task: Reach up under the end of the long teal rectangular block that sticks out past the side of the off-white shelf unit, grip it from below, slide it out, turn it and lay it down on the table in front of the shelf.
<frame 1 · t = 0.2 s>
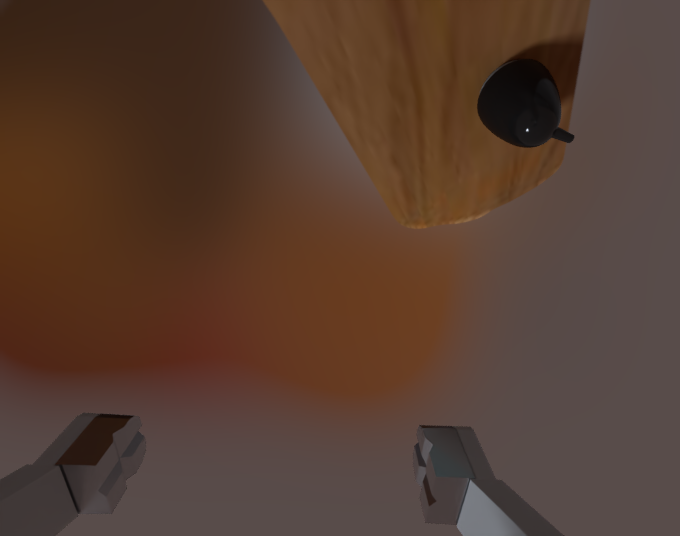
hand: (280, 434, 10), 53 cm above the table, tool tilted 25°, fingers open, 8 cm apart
black roly-poly toy: (505, 86, 53), on the table
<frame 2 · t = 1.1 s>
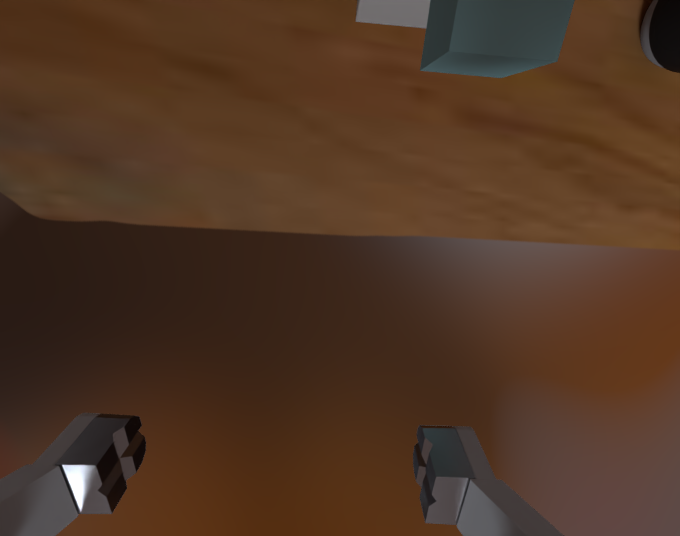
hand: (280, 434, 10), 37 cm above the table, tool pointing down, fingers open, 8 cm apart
black roly-poly toy: (668, 25, 38), on the table
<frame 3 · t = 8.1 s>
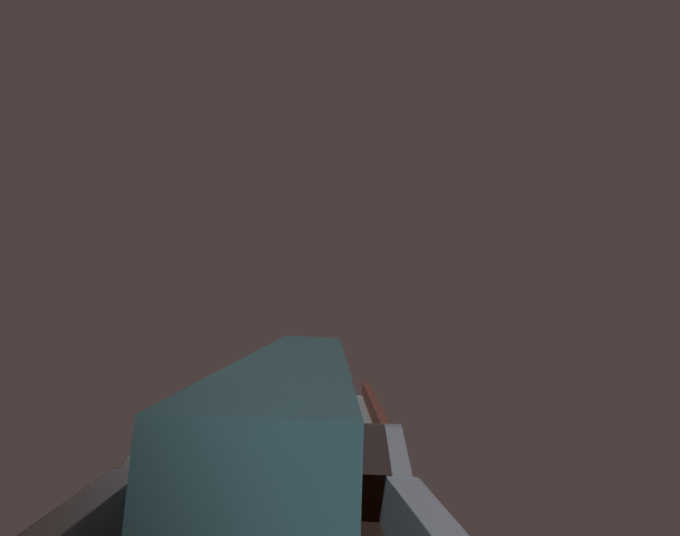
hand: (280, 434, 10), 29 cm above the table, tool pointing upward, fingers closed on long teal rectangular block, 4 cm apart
long teal rectangular block: (295, 457, 15), point 26 cm above the table, touching gripper, shelf unit
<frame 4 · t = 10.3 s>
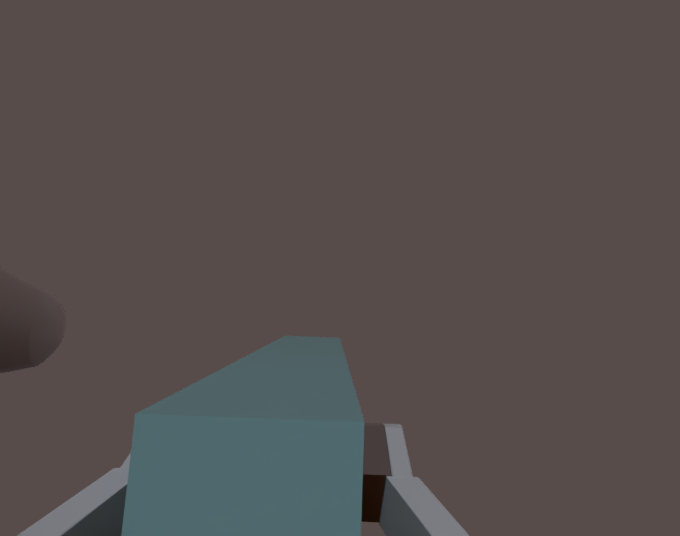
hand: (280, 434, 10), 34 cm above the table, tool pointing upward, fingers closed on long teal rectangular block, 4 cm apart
long teal rectangular block: (294, 457, 15), point 31 cm above the table, touching gripper
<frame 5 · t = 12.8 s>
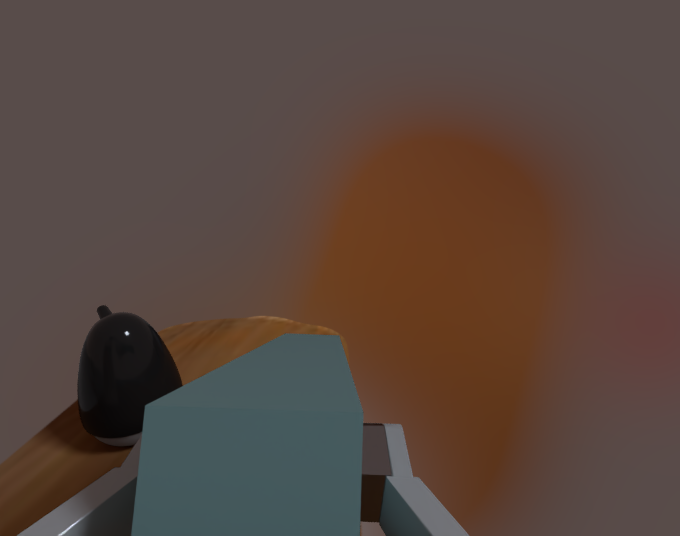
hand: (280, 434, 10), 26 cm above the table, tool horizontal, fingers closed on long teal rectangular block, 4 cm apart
black roly-poly toy: (141, 425, 41), on the table
long teal rectangular block: (295, 451, 15), point 21 cm above the table, tilted 30°, touching gripper
when the fingers open (7 cm above the table, at t = 16.2 s): long teal rectangular block drops 3 cm, on the table.
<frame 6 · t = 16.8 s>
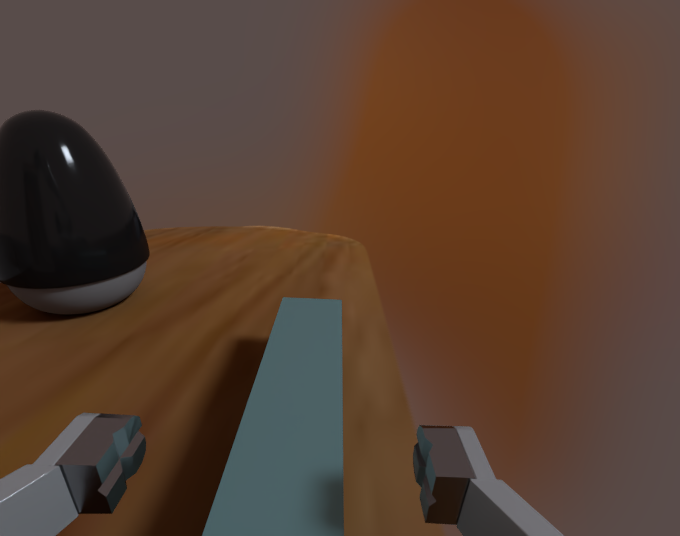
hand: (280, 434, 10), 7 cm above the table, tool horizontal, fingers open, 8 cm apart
black roly-poly toy: (91, 301, 30), on the table
long teal rectangular block: (295, 477, 16), on the table
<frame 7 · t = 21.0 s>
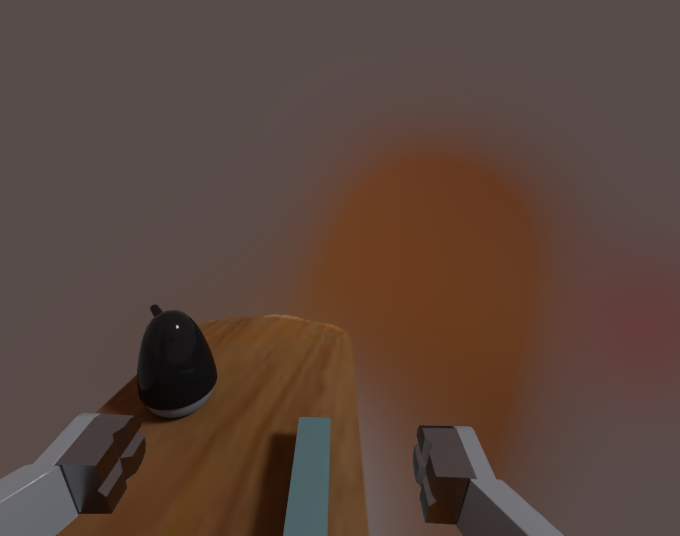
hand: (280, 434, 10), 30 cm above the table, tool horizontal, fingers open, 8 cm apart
black roly-poly toy: (182, 402, 50), on the table
long teal rectangular block: (307, 519, 36), on the table
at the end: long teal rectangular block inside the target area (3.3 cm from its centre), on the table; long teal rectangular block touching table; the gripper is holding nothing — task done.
